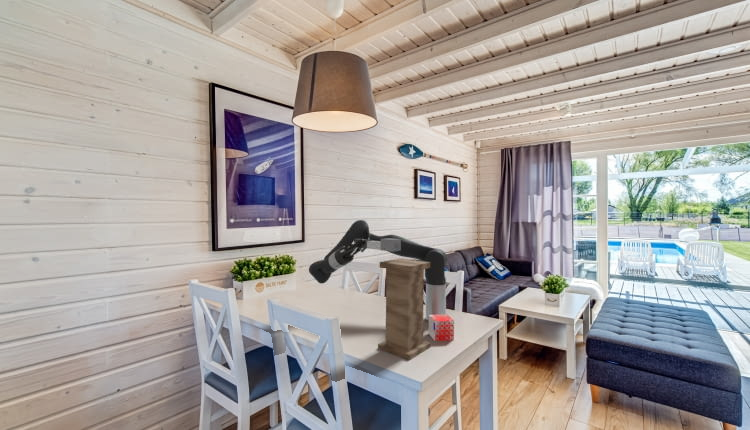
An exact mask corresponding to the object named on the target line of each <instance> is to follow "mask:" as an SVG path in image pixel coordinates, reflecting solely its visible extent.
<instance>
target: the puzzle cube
mask: <svg viewBox="0 0 750 430" xmlns="http://www.w3.org/2000/svg"><path fill="white" fill-rule="evenodd" d="M428 335H430V337H431V338H432V339H433V341H435V342H439V341H442V342H443V341H455V320H454V319H453V318H452V317H451V316H449V315H448V314H447V313H446V314H439V315H429V321H428Z"/></svg>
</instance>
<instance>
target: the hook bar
mask: <svg viewBox="0 0 750 430" xmlns="http://www.w3.org/2000/svg"><path fill="white" fill-rule="evenodd" d="M359 240H360V239H354V241H353V243H355V242H357V241H359ZM363 240H364V244H363V245H361V246H360V247H358V248H366V249H367V250H368V249H369V250H377V251H384V252H388V251H392V252H394V251H401V239H392V238H385V239H381V241H372V240H368V239H363Z"/></svg>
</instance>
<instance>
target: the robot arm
mask: <svg viewBox="0 0 750 430" xmlns="http://www.w3.org/2000/svg"><path fill="white" fill-rule="evenodd" d="M385 238H392V239H401V251H394V252H392V251H387V253H390V254H393V255H396V256H399V257H404V258H409V259H416V260H418V261H424V262H431V265H430V268H427V269H424V277H425V321H428V322H429V315H439V314H447V295H446V294H447V293H446V292H447V291H446V290H447V285H446V284H447V282H446V281H447V279H446V276H445V273H446V272H445V270H446V269H445V265H446V264H447V263H448V255H447V254H446V252H445V251H444V250H442V249H440V248H435V247H430V246H426V245H423V244H420V243H418V242H415V241H413V240H411V239H407V238H405V237H402V236H399V235H396V234H385V235H376V234H373V233H372V232H370V228H369V224H368V222H367V221H366V220H363V219H358V220H356V221H354V222H353V223H352V224H351V226H350V227H348V230H347V231H346V233H345V234H344V235H343V236H342V238H341V239H340V240H339V242H338V243H337V244H336V245H335V246H334V247H333V248H332V249H331V250H330V251H329V252H328V253H327V254H326V255H325V256H324V259H321V260H317V261H314V262H313V263H311V264H310V266H309V267H308V273H309V274H310V275H311V276H312V277H313V278H314V280H315V281H316V282H317V283H319V284H320V285H321V284H325V283H327V282H328V281H329V279H330V277H331V275H332V273H335V272H336V271H338V270H339V269H341V268H344V267H345V266H346V265H348V264H349V263H351V262H352V261H353V260H354V257H355V256H357V254H359V253H364V251H365V250H367V248H358V247H360V246H361V245H363V244H364V240H363V239H368V240H372V241H381V239H385ZM354 239H360V240H359V241H357V242H355V243H354Z"/></svg>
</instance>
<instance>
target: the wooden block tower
mask: <svg viewBox="0 0 750 430" xmlns="http://www.w3.org/2000/svg"><path fill="white" fill-rule="evenodd" d="M430 265H431V262H424V261H422V260H417V259H416V260H414V259H406V258H405V259H404V258H396V259H389V260H384V261H380V262H379V268H380V269H386V270H385V272H386V273H385V274H386V275H385V285H386V286H385V340H384V341H382V342H380V343H378V344H377V349H378V350H381V351H383V352H386V353H389V354H392V355H395V356H397V357H401V358H403V359H406V360H412V359H414V358H415V357H416V356H419V355H420V354H421V353H423V352H425V351H426V350H428V349H430V348H431V342H429V341H426V340H424V295H425V294H424V292H425V291H424V286H425V285H424V283H425V279H424V277H425V269H427V268H430Z"/></svg>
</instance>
